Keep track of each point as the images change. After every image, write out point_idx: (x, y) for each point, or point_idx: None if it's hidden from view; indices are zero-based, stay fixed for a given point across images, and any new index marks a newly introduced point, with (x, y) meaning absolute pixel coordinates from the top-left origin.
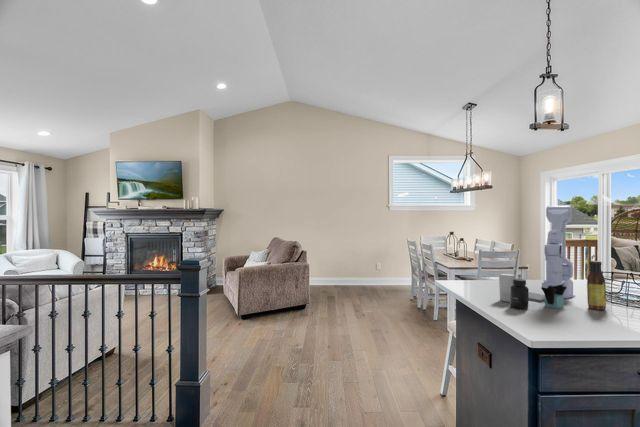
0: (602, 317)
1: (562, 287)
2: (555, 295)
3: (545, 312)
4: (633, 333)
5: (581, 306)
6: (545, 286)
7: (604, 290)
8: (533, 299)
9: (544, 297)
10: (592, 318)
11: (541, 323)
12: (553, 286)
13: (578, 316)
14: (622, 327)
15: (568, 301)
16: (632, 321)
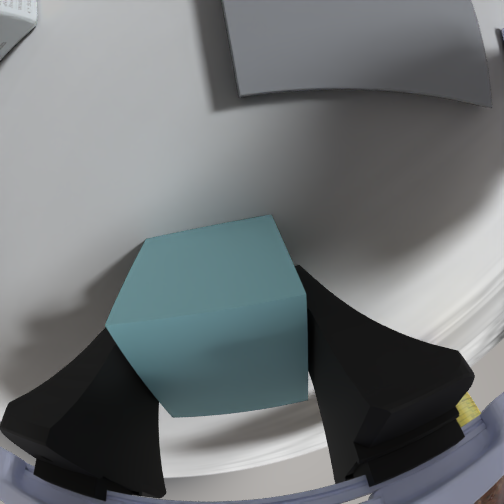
0: (254, 440)
1: (338, 477)
2: (217, 390)
3: (48, 352)
4: (182, 476)
5: (403, 324)
6: (23, 480)
7: None
8: (224, 13)
9: (413, 45)
10: (201, 441)
11: (4, 394)
12: (356, 431)
13: (167, 424)
14: (202, 468)
15: (480, 200)
16: (295, 455)
